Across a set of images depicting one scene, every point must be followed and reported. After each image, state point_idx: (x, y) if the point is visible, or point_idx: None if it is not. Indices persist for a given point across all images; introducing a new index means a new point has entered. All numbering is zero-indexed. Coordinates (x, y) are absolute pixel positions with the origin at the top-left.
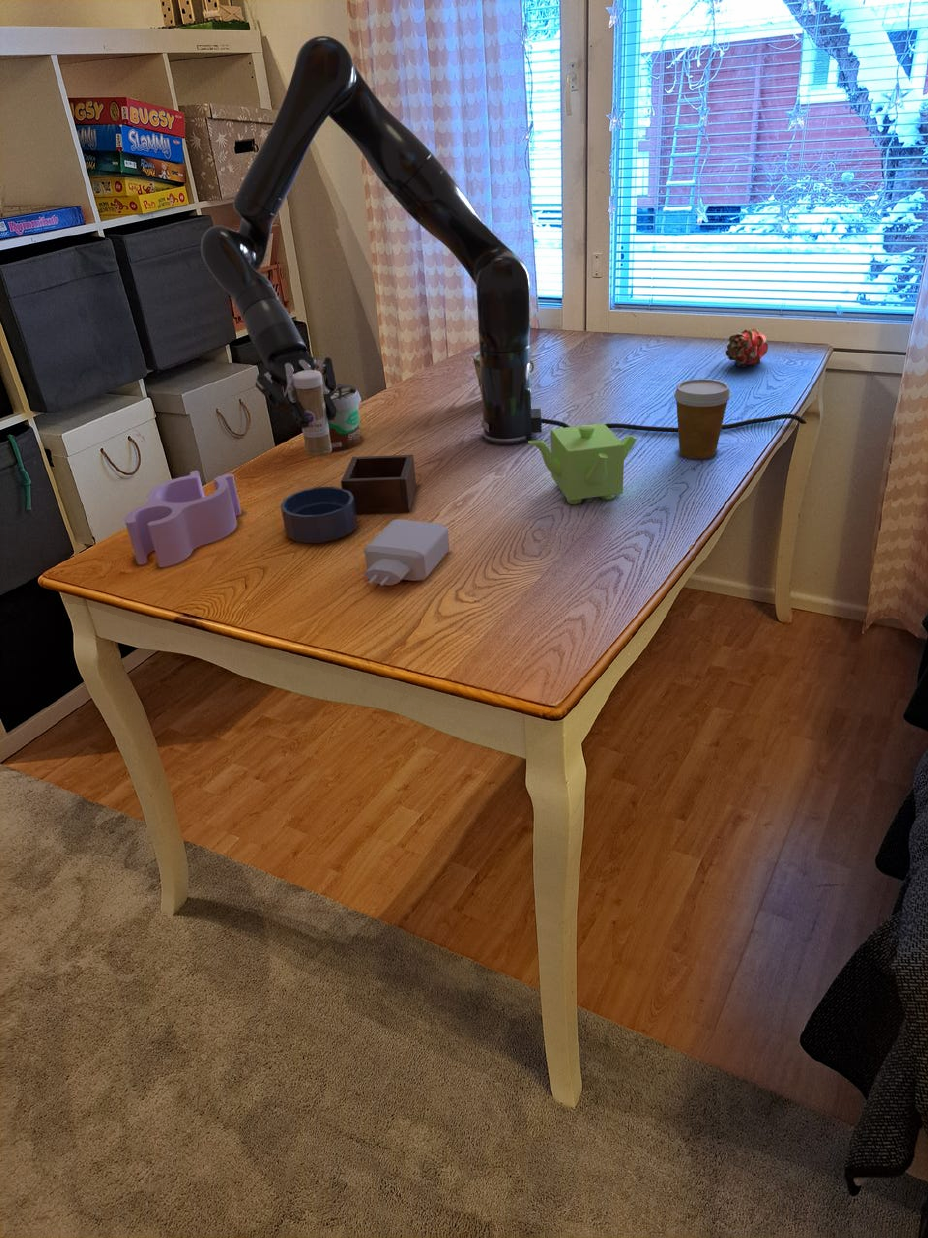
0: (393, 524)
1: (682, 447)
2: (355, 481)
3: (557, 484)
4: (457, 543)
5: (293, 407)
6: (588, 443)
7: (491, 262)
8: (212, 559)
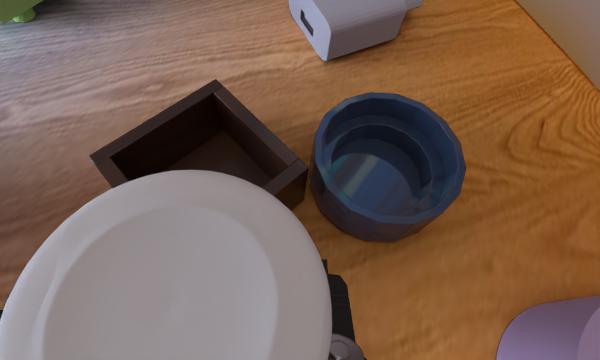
0: (341, 13)
1: None
2: (286, 146)
3: (38, 2)
4: (261, 20)
5: (348, 335)
6: None
7: None
8: (576, 237)
